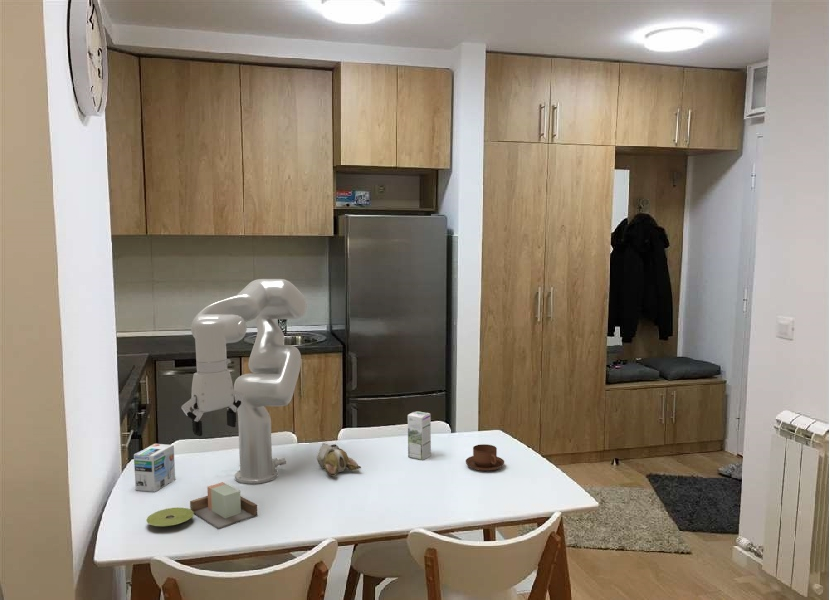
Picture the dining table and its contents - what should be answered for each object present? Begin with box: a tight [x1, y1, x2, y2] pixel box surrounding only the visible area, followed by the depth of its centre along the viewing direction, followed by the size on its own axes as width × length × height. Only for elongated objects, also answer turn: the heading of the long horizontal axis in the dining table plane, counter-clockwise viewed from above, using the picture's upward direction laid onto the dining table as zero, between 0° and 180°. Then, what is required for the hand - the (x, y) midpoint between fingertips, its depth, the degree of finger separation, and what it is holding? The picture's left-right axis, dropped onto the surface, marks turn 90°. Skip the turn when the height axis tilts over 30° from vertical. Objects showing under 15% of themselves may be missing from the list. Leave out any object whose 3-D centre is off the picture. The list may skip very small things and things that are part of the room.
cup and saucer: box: [465, 443, 505, 472], centre depth 205 cm, size 12×12×6 cm
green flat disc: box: [146, 507, 195, 527], centre depth 166 cm, size 11×11×2 cm
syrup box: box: [407, 411, 432, 461], centre depth 215 cm, size 6×6×14 cm
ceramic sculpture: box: [316, 442, 362, 477], centre depth 203 cm, size 11×9×15 cm
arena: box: [189, 495, 258, 530], centre depth 172 cm, size 11×15×3 cm
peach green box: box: [206, 482, 241, 518], centre depth 172 cm, size 9×4×6 cm, turn 45°
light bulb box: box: [133, 443, 176, 493], centre depth 192 cm, size 11×7×11 cm, turn 168°
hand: (215, 430), depth 172 cm, fingers open, 9 cm apart
